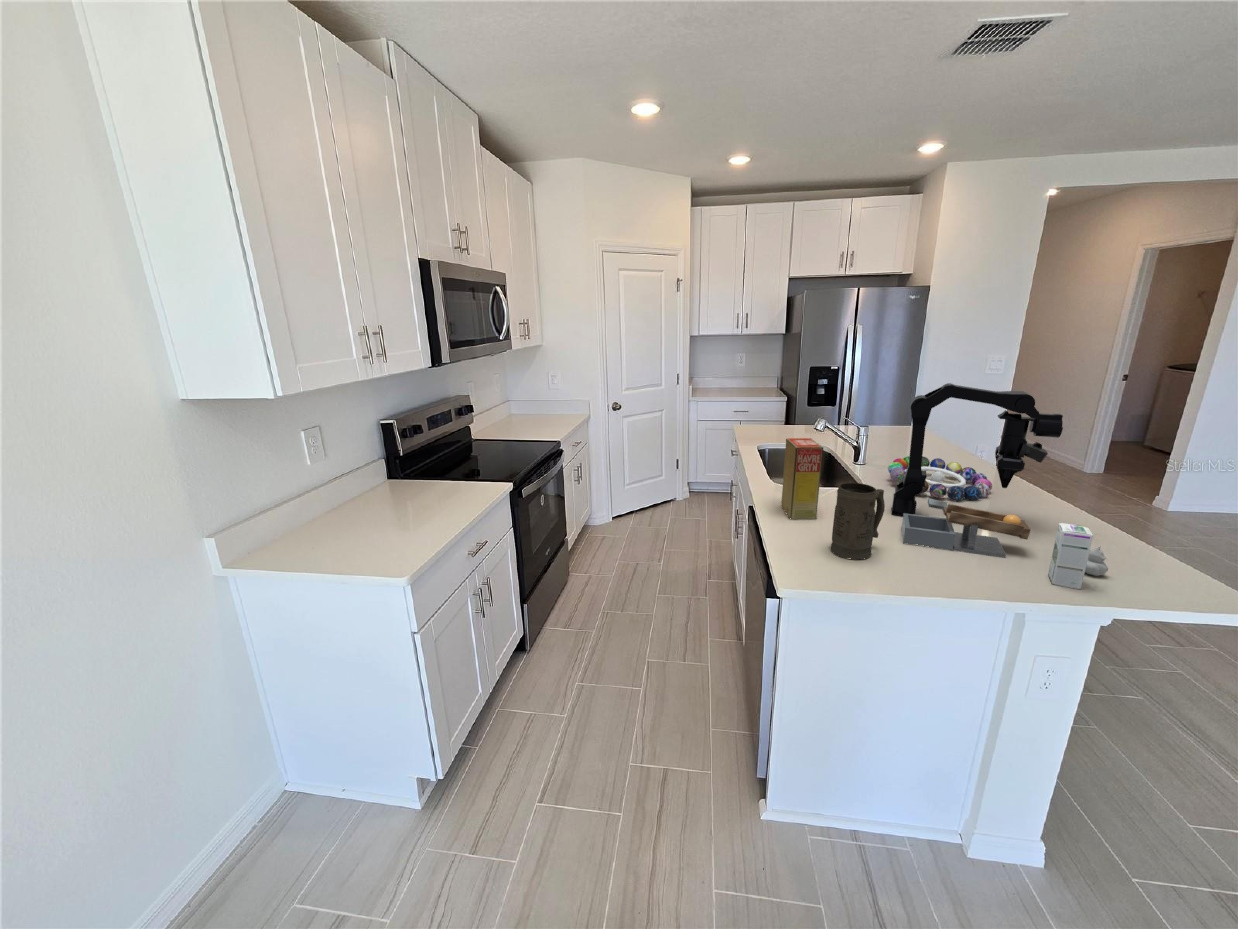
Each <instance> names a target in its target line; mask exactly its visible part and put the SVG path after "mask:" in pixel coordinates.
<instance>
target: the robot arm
mask: <svg viewBox="0 0 1238 929" xmlns="http://www.w3.org/2000/svg"><path fill="white" fill-rule="evenodd" d="M950 398H951V399H952V398H953V399H958V400H963V401H964V400H965V401H970V402H976V403H982V404H988V405H993V406H996V407H999V408H1003V409H1005V410H1004V411H1002V412H1001V413H999V414H998V415H997V418H998V419H1000V420H1004V423H1003V429H1002V433H1001V436H1000V443H999V445H998V446H996V447H995V452H994V454H995V455H994V456H995V461H996V469H997V472H998V477H999V481H1000V483H1001V487H1002V489H1007V488H1008V486H1009V484H1010V483H1011V481H1012V480H1013V477H1014V476H1015V474H1017V473H1020V472H1022V471H1023V470H1025V465H1026V462H1025V460H1024V459H1023V458H1025V457H1027V458H1030V459H1031V460H1034V461H1036V463H1040V464H1041V463H1042V462H1043V461H1044V460H1045V459H1046V457H1047V455H1049V453H1048V451H1047V450H1046V449H1044V448H1043V445H1042V443H1040V442H1037V441H1035V442H1033V443H1032V444H1031V443H1029V442H1028V440H1027V438H1026V437H1027V434H1028V430H1029V432H1030V433H1032V435H1033V436H1034V437H1045V438H1057V439H1059V438H1060V437H1061V435H1062V434H1063V433H1062V432H1063V429H1064V427H1063V425H1064V424H1063V418H1064V416H1063V414H1062V413H1040V411H1039V410H1038V409H1037V408H1036V407H1035V406H1036V400H1035V398H1034V396H1032V395H1031V394H1029V393H1028V392H1026V391H1023V390H1021V391H1020V390H1019V391H1018V390H1007V391H1006V390H1005V391H1004V390H1003V391H998V390H997V391H996V390H989V389H988V390H987V389H984V388H979V387H978V388H976V387H969V386H965V385H957V384H953V383H950V382H949V383H945V384H943V385H942V386H941V387H938V388H936V389H934V390H932V391H930V392H927V393H926V394H924V395H921V394H920V395H916V396H914V397H913V398H912V399H911V401H910V413H911V414H910V415H911V422H912V427H911V437H910V447H909V464H908V467H907V469H905V472H906V473H905V476H904V479H903V481H902V482H900V483H899V482H898V483H897V484H896V485H895V488H894V493H893V497H892V504H891V507H890V509H891V510H890V514H891V515H893V516H900V517H903V513H906V514H914V515H916V511H917V503H918V502H917V500H916V496H918V495H919V494H922V493H921V492H922V490H923V487H925V488H926V485H925V480H926V479H927V476H928V474H927V471H921V464H922V456H923V453H924V452H923V451H924V444H925V435H926V434H925V433H926V427H927V424H928V421H929V419H930V417H931V416H930V415H931V412H932V409H933V408H935V407H937V406H939V405H941V404H942V403H944V402H945V401H947V400H948V399H950ZM1007 410H1008V411H1011V412H1010V413H1009V412H1008V411H1007ZM1012 412H1013V413H1012ZM1022 414H1025V415H1027V417H1026V416H1022Z"/></svg>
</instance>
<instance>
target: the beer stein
mask: <svg viewBox="0 0 1238 929" xmlns="http://www.w3.org/2000/svg"><path fill="white" fill-rule="evenodd" d="M836 494H837V496H836V504H835V507H834V514H833V515H834V516H833V522H832V523H833V524H832V532H831V544H830V551H831V552H832V553H833V552H834V553H835V554H834V553H833V554H834V555H836V556H838V555H839V556H838V557H840V556H841V558H843V557H844V558H843V559H846V558H851V559H850V560H853V559H862V560H865V559H864V558H867V559H869V558H870V557H871V556H872V545H873V539H875V538H876V539H877V538H879V532H878V527H879V524H880V523H881V522H882V519H883V516H884V513H885V498H884V494H885V489H883V488H882V489H881V488H880V489H879V488H875V487H874V486H872V485H868V484H866V483H865V484H864V483H860V482H859V483H858V482H843V483H841V484H838V488H837V490H836ZM875 509H876V510H875Z"/></svg>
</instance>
